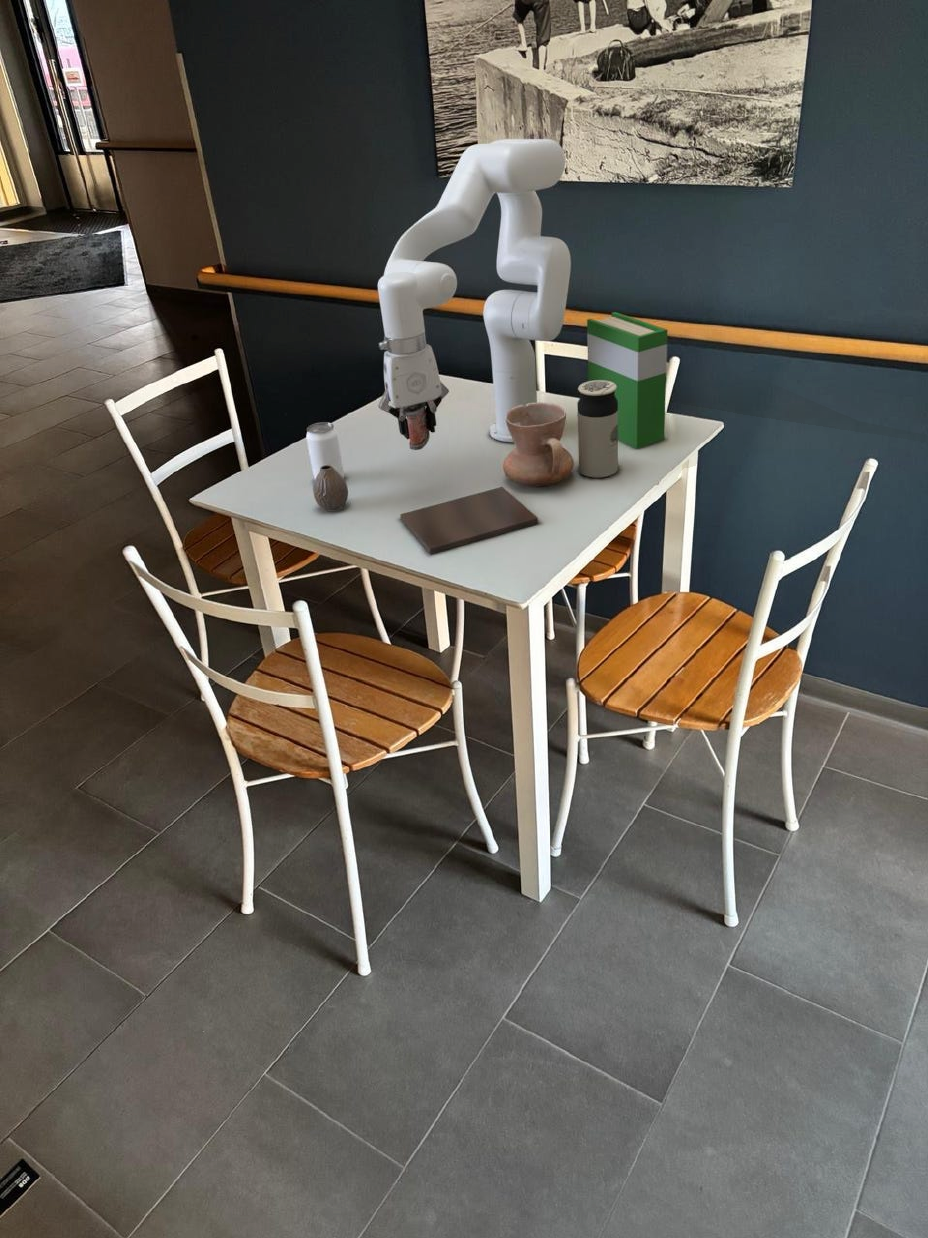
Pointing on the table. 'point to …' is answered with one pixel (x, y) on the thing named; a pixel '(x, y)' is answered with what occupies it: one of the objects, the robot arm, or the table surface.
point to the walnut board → (468, 519)
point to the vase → (330, 489)
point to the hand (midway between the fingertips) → (418, 432)
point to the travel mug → (598, 429)
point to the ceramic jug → (537, 445)
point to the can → (324, 447)
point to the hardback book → (631, 373)
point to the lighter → (417, 425)
